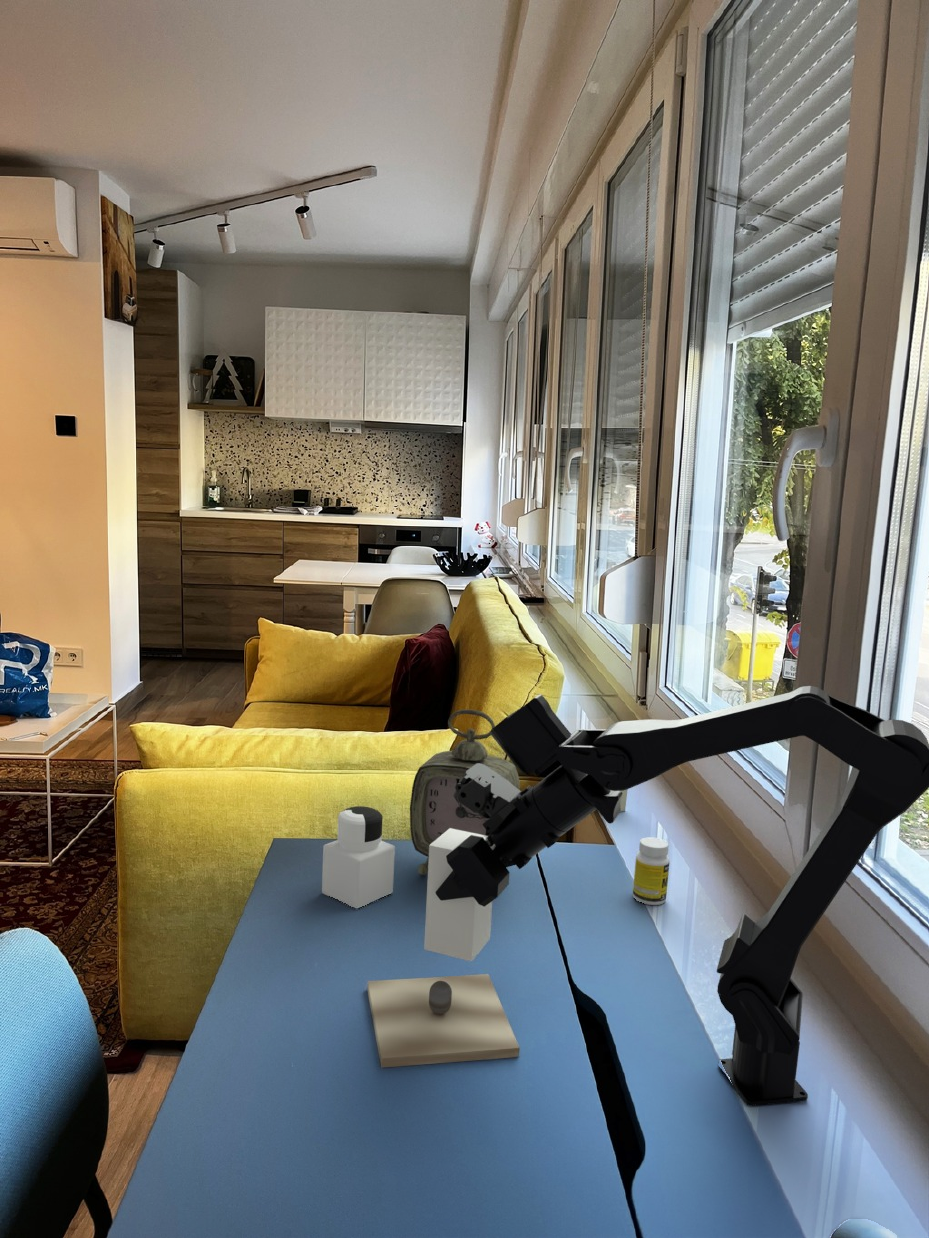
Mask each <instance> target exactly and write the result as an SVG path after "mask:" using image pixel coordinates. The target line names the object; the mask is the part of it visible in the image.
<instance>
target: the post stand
mask: <svg viewBox="0 0 929 1238" xmlns="http://www.w3.org/2000/svg"><path fill="white" fill-rule="evenodd" d="M366 985H367V987H366V989H367V997H368V1002H369V1007H370V1012H371V1017H372V1022H373V1023H372V1024H373V1031H374V1034H375V1041H376V1046H377V1050H378V1051H377V1052H378V1056H379V1062H380V1068H382V1069H383V1068H394V1067H396V1068H397V1067H408V1066H409V1067H410V1066H418V1065H431V1064H434V1065H435V1064H446V1063H447V1064H448V1063H455V1062H459V1063H460V1062H470V1061H471V1062H472V1061H482V1060H483V1061H485V1060H486V1061H487V1060H495V1059H496V1060H497V1059H498V1060H499V1059H507V1058H508V1059H510V1058H519V1057H520V1045H519V1043H518V1040H517V1038H516V1036H515V1033H514V1032H513V1028H512V1027H511V1024H510V1021H509V1019H508V1017H507V1015H506V1012H505V1010H504V1007H503V1005H502V1003H501V1001H500V999H499V998H500V997H499V996H498V993H497V990H496V989H495V985H494V984H493V982H492V980H491V977H490V975H489V973H486V974H483V973H481V974H470V975H469V974H468V975H466V974H465V975H449V976H447V975H446V976H436V977H433V976H432V977H415V978H414V977H413V978H400V979H383V980H379V979H378V980H367V984H366Z"/></svg>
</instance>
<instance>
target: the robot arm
mask: <svg viewBox="0 0 929 1238" xmlns="http://www.w3.org/2000/svg"><path fill="white" fill-rule="evenodd" d="M488 733H490V734H491V737H492V738H493V739H494V741H495V742H496V743H497V745H498V746H499V747H500V748H501V750H502V751H503V752H504V753H505V754H506V755H507V757H508V758H509V760H510V761H511V763H512V764H514V765H515V766H516V769H518V770H517V771H519V772H520V774H525V775H526V777H528V776H530V775H531V774H533V775H534V776H535V777H538V776H540V775H541V774H542V773H543V772H544V771H546V770H547V769H549V768H550V767H551V766H552V765H553V764H554V763H556V762H557V761H558V762H559V763H560V765H559V766H558V767H557V768H556V769H554V770H553V771H552V772H550V773H549V774H548V775H546V777H544V778H542V780H541V781H539V782H538V783H537V784H534V785H533V786H531V785H528V786H527V787H525V788H524V789H523V790H521V789H520V790H518V789H517V788H516V787H515V786H513V785H512V784H511V783H510V782H509V781H508V780H506V779H505V778H503V777H502V776H501V775H499V774H498V773H496V772H495V771H493V770H492V769H490V768H489V767H487V766H486V765H483V764H480V763H477V764H475V765H474V766H473V767H471V768H470V769H468V770H467V771H466V772H465V774H464V776H463V778H462V780H461V781H460V782H459V783H458V784H456V786H455V789H456V791H455V793H454V795H453V796H454V798H455V799H456V800H457V801H458V802H459V803H461V804H462V805H464V806H465V807H466V808H468V809H469V810H471V811H472V812H474V813H478V814H480V815H481V816H483V817H485V818H489V819H488V820H487V821H485V822H484V823H483V824H482V825H483V826H484V828H485V829H486V834H485V835H486V836H488V837H487V838H486V839H484V838H483V837H479V836H474V835H470V836H469V837H468V838H467V839H465V840H464V841H463V842H462V843H460V844H459V845H458V846H457V847H456V848H454V849H453V850H452V851H451V852H450V853H449V854H448V855H447V856H446V858H447V863H448V864H449V865H450V867H451V868H452V869H453V871H452V872H451V873H450V875H449V876H448V877H447V878H446V880H445V881H444V882H443V883H442V885H441V886H440V887H439V888H438V889H437V891H436V895H437V896H438V898H439V899H440V900H441V901H443V900H451V899H459V898H468V897H474V899H475V900H476V901H477V902H478V904H479V905H482V906H484V907H485V906H486V905H488V904H489V903H490V902H492V903H493V901H494V900H496V899H498V898H499V896H500V895H501V894H502V892H503V891H505V889H506V888H507V887H508V886H509V885H510V875H511V874H510V871H509V870H508V868H510V867H512V866H513V867H514V866H515V865H516V867H517V868H518V869H519V870H521V869H522V868H524V867H525V866H526V865H528V863H529V862H530V861H531V860H532V858H533V857H535V856H536V855H537V854H539V853H540V852H541V851H542V850H544V849H546V848H547V849H549V848H551V847H552V846H553V845H554V844H556V843H557V842H558V840H559V839H560V838H561V837H562V836H563V835H564V834H566V833H567V832H569V831H570V830H571V829H572V828H574V827H575V826H576V825H577V824H579V823H581V822H582V821H583V820H585V819H586V818H588V817H589V816H590V815H591V814H593V813H594V812H596V810H597V812H598V813H599V815H600V816H602V817H603V819H604V821H606V823H608V824H613V823H614V822H615V821H616V819H617V818H618V816H619V815H620V813H621V812H622V811H621V808H620V800H621V797H622V795H623V793H622V792H621V791H624V790H627V789H628V790H629V789H632V788H635V787H637V786H638V785H642V784H644V783H646V782H648V781H650V780H653V779H655V778H656V777H659V776H660V775H663V774H665V773H666V772H667V771H670V770H672V769H674V768H677V766H680V765H682V764H685V763H688V762H692V761H696V760H702V759H705V758H706V759H707V758H709V757H714V756H719V755H722V754H728V753H732V752H736V751H741V750H744V749H745V750H746V749H750V748H754V747H757V746H763V745H766V744H771V743H772V744H773V743H777V742H780V741H785V740H788V739H789V740H790V739H794V738H797V737H806V738H808V739H809V740H811V741H813V742H815V743H817V744H818V745H819V746H821V747H823V748H824V749H825V750H826V751H828V752H829V753H831V754H832V755H834V756H835V757H837V758H838V759H840V760H841V761H842V762H843V763H845V764H847V765H848V766H850V767H851V771H850V773H849V775H848V779H847V782H846V785H845V789H844V791H843V794H842V797H841V799H840V801H839V803H838V804H837V805H836V807H835V808H834V810H833V812H832V813H831V815H830V816H829V818H828V819H827V821H826V822H825V824H824V825H823V827H822V828H821V830H820V832H818V833H819V834H818V835H817V836H816V838H815V840H814V841H813V843H812V844H811V846H810V847H809V848H808V850H807V852H806V853H805V854H804V856H803V858H802V860H801V861H800V863H799V864H798V865H797V866H796V867H797V868H796V869H795V871H794V872H793V873H792V875H791V877H790V878H789V879H788V881H787V883H786V884H785V886H784V887H783V889H782V891H780V893H779V895H778V897H777V898H776V899H775V901H774V902H773V904H772V906H771V908H770V909H768V911H767V912H766V914H764V915H763V916H760V918H759V919H757V920H756V921H753V920H752V919H751V918H750V917H749V916H747V914H745V913H743V914H742V915H741V917H740V919H739V922H738V925H737V927H736V929H735V931H734V932H733V934H732V935H731V936H729V937H728V938H726V939H725V940H724V941H723V944H722V947H721V948H722V949H721V953H720V957H719V961H718V964H717V967H716V973H717V974H719V975H720V976H719V980H718V984H717V990H716V991H717V994H718V997H719V1001H720V1003H721V1005H722V1007H724V1009H725V1010H726V1012H728V1013H729V1014H730V1015H731V1016H732V1018H733V1021H734V1022H733V1023H734V1025H735V1026H734V1034H733V1043H732V1050H731V1051H732V1052H731V1055H732V1058H721V1059H719V1060H721V1062H722V1065H723V1067H724V1069H725V1071H726V1073H727V1074H728V1076H729V1077H730V1080H731V1082H732V1084H733V1085H732V1084H731V1085H732V1087H733V1088H734V1089H735V1091H736V1093H737V1094H738V1095H739V1096H740V1098H741V1099H742V1101H743V1102H744V1103H745V1104H746V1105H748V1106H750V1107H751V1106H753V1107H754V1106H763V1105H775V1104H784V1103H785V1104H786V1103H787V1104H788V1103H796V1102H797V1103H798V1102H804V1101H807V1100H808V1097H809V1095H808V1092H807V1091H806V1090H805V1089H804V1088H803V1087H802V1085H801V1084H800V1083H799V1082H798V1080H796V1078H797V1069H798V1062H799V1051H800V1045H801V1043H800V1037H801V1025H802V1013H803V1012H802V1011H803V999H804V994H803V992H802V990H801V989H800V988H799V987H798V985H797V984H796V983H795V982H794V981H793V979H792V978H791V977H792V975H793V972H794V971H793V970H794V968H795V965H796V962H797V959H798V957H799V953H800V950H801V949H802V946H803V945H804V943H805V942H806V941H807V940H808V937H809V936H810V934H811V933H812V932H813V930H814V928H815V927H816V925H817V924H818V923H819V921H820V920H821V918H822V916H823V915H824V914H825V913H826V911H827V909H828V908H829V906H830V905H831V903H832V901H833V900H834V899H835V897H836V896H837V894H838V893H839V892H840V889H841V888H842V887H843V885H844V884H845V882H846V881H847V880H848V878H849V877H850V875H851V873H852V872H853V870H855V868H856V866H857V864H858V863H859V862H860V860H861V859H862V857H863V856H864V854H865V852H866V851H867V849H868V848H869V847H870V845H871V844H872V842H873V841H874V839H875V837H876V836H877V835H878V833H879V832H880V831H881V830H882V829H883V828H885V827H886V826H887V825H888V824H890V823H891V822H893V821H894V820H896V819H897V818H898V817H900V816H902V815H903V814H904V813H905V812H906V811H908V809H909V808H911V806H912V805H914V803H915V802H916V801H918V799H920V797H922V795H924V794H925V793H926V792H927V790H929V741H928V738H927V736H926V735H925V733H924V732H923V731H922V730H921V729H920V728H918V727H917V726H916V725H915V724H913V723H911V722H908V721H907V720H906V721H905V720H901V719H889V720H885V719H883V718H881V717H879V716H878V715H875V713H872V712H869V711H867V710H865V709H864V708H861V707H859V706H855V705H854V704H851V703H848V702H846V701H843V700H841V699H838V698H836V697H835V696H832V695H830V694H828V693H826V691H824V690H823V689H821V688H819V687H818V686H813V685H804V686H800V687H798V688H797V689H794V690H792V691H791V692H786V693H782V694H778V695H774V696H770V697H765V698H762V699H758V700H753V701H751V702H746V703H745V702H744V703H741V704H738V705H733V706H729V707H726V708H722V709H718V710H714V711H709V712H705V713H701V714H697V715H694V716H689V717H685V718H681V719H669V720H668V719H655V718H654V719H652V718H651V719H650V718H649V719H637V720H624V721H618V722H615V723H613V724H611V725H609V726H608V727H607V728H606V729H604V728H603V729H600V728H599V729H597V728H596V729H595V728H592V729H591V728H588V729H587V728H577V729H576V730H575V731H574V732H572V733H571V732H570V731H569V729H568V728H567V726H565V724H564V722H562V721H561V719H560V718H559V716H557V714H556V713H555V712H554V711H553V709H552V708H551V705H550V703H549V701H548V700H547V699H546V697H545V696H544V695H543V694H542V693H541V694H538V695H536V696H535V697H533V698H532V699H531V700H530V701H528V702H527V703H525V705H523V706H521V707H519V708H518V709H516V710H515V711H513V712H512V713H510V714H509V715H507V716H505V717H504V718H503V719H502V720H501V721H500V722H499V723H497V724H496V725H495V727H494V728H493V729H492V728H491V730H489V731H488ZM628 790H627V791H628ZM494 844H495V846H494V847H493V848H492V849H491V846H493V845H494Z"/></svg>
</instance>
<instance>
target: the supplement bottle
mask: <svg viewBox="0 0 929 1238" xmlns="http://www.w3.org/2000/svg"><path fill="white" fill-rule="evenodd" d="M668 854H669V843H668V841H666V840H665V839H663V838H662V839H661V838H659V837H652V836H649V837H643V838H641V839H640V840H639V847H638V852H637V853H636V855H635V862H634V863H635V865H634V872H633V873H634V875H633V886H632V897H633V899H634V898H635V899H636V900H635V899H634V900H635V901H637V902H638V901H639V902H638V903H640V902H642V903H641V904H643V903H644V904H643V905H648V906H659V905H662V904H664V903H665V902H666V900H667V893H668V892H667V890H668V882H669V873H670V872H669V871H670V862H671V861H670V858H669V856H668Z"/></svg>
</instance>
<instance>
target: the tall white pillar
mask: <svg viewBox="0 0 929 1238" xmlns="http://www.w3.org/2000/svg"><path fill="white" fill-rule="evenodd" d="M470 835H474V836H479V837H483V838H484V839H486V838H487V837H488V836H486V835H481V834H476V833H471V832H466V831H461V830H456V829H452V828H449V829H448V830H447V831H446V832H445V833H443V834H442V835H441V836H440V837H439V838H437V839H436V840H435V841H434V842H433V843H431V844H430V845H429V862H428V873H427V883H426V884H427V885H426V886H427V887H426V888H427V889H426V902H425V903H426V905H425V908H426V909H425V924H424V926H425V928H424V946H423V949H424V950H425V951H428V952H429V951H430V952H433V953H436V954H437V953H438V954H441V955H445V956H449V957H452V958H457V959H460V960H463V961H467V962H473V960H474V959H475V958H476V957H477V956H478V954H479V953H480V952H481V951H482V950H483V948H484V947H485V946H486V944H487V943H488V942H489V941H490V939H491V932H492V931H491V928H492V912H493V911H492V910H493V901H492V902H490V903H489V904H488V905H486V906H485V907H484V906H482V905H479V904H478V902H477V901H476V900H475V899H474V897H468V898H459V899H451V900H443V901H441V900H440V899H439V898H438V896H437V895H436V891H437V889H438V888H439V887H440V886H441V885H442V883H443V882H444V881H445V880H446V878H447V877H448V876H449V875H450V873H451V872H452V871H453V869H452V868H451V867H450V865H449V864H448V863H447V858H446V856H447V855H448V854H449V853H450V852H451V851H452V850H453V849H454V848H456V847H457V846H458V845H459V844H460V843H462V842H463V841H464V840H465V839H467V838H468V837H469V836H470ZM494 846H495V844H494V845H493V846H491V849H492V848H493V847H494Z"/></svg>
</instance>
